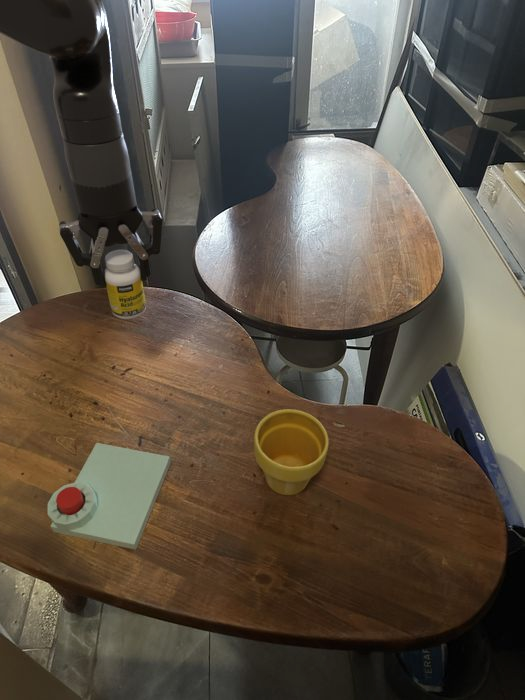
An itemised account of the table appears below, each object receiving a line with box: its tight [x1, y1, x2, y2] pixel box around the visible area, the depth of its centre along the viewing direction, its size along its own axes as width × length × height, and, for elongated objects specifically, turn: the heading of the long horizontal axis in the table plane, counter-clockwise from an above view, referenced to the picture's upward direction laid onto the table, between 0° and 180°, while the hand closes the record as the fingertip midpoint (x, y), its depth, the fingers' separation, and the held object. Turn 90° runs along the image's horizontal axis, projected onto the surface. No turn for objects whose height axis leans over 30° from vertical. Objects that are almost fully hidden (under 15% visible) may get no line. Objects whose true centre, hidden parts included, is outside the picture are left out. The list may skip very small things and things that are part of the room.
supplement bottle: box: [103, 249, 147, 320], centre depth 73 cm, size 5×5×10 cm
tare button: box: [56, 487, 84, 515], centre depth 65 cm, size 3×3×2 cm
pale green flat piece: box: [47, 442, 172, 551], centre depth 69 cm, size 13×14×4 cm
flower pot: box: [253, 408, 330, 496], centre depth 70 cm, size 10×10×10 cm
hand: (123, 280), depth 73 cm, fingers closed on supplement bottle, 5 cm apart
